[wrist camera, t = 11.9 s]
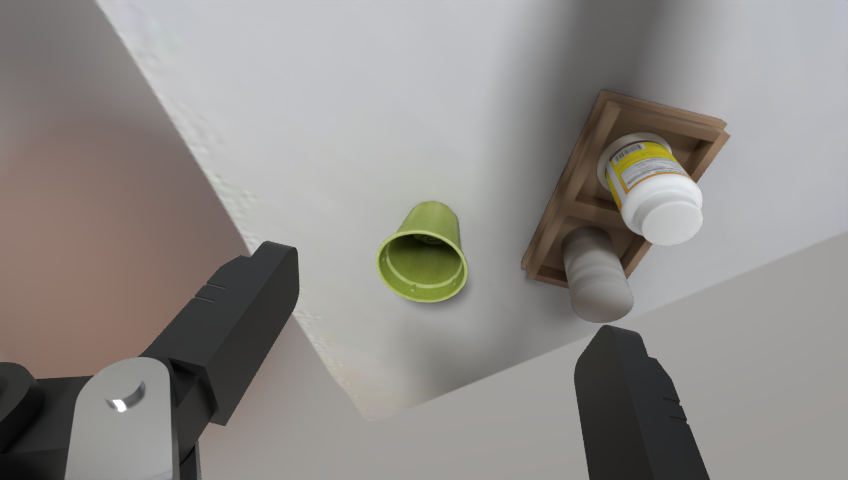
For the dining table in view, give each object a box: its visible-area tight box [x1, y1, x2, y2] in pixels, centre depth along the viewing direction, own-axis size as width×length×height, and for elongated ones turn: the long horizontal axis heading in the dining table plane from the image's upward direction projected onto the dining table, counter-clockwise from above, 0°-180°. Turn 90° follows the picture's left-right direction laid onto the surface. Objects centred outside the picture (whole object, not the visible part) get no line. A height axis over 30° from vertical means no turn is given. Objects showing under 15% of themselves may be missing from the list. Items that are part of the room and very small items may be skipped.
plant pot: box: [375, 202, 468, 303], centre depth 42 cm, size 9×9×9 cm
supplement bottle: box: [605, 139, 703, 246], centre depth 32 cm, size 6×6×10 cm
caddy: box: [522, 90, 730, 323], centre depth 36 cm, size 21×11×10 cm, turn 169°
